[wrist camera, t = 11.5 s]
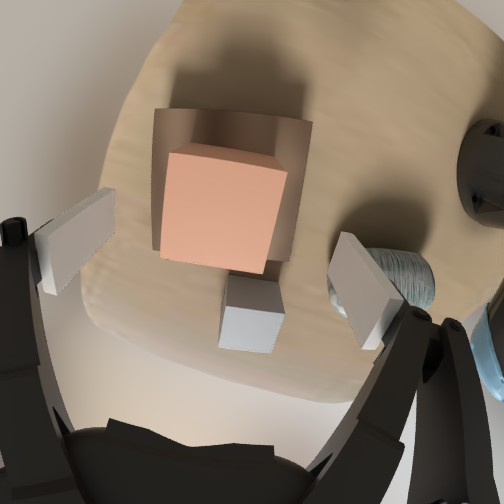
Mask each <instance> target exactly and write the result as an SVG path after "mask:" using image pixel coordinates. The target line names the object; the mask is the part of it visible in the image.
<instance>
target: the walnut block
mask: <svg viewBox="0 0 504 504" xmlns="http://www.w3.org/2000/svg"><path fill="white" fill-rule="evenodd" d="M312 124H313V122H311V121H305V120H300V119H294V118H287V117H280V116H273V115H265V114H257V113H247V112H237V111H224V110H208V109H155V113H154V126H153V144H152V174H151V215H152V245H153V250H157V251H160V245H161V229H162V216H163V204H164V193H165V184H166V175H167V167H168V159H169V152H171V151H173V150H175V149H177V148H180V147H182V146H184V145H186V144H188V143H198V144H205V145H212V146H218V147H225V148H231V149H237V150H242V151H248V152H253V153H258V154H264V155H269V156H273V157H275V158H276V159H277V160H278V162H279V163H280V164H281V165H282V166H283V167H284V169H285V170H286V171H287V172H288V173H287V177H286V181H285V185H284V190H283V194H282V198H281V202H280V206H279V210H278V214H277V218H276V223H275V227H274V231H273V235H272V239H271V243H270V247H269V251H268V255H267V259H266V260H275V261H288V262H289V260H290V254H291V249H292V244H293V239H294V233H295V228H296V222H297V217H298V211H299V205H300V200H301V194H302V188H303V182H304V176H305V170H306V163H307V157H308V151H309V144H310V137H311V131H312Z"/></svg>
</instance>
